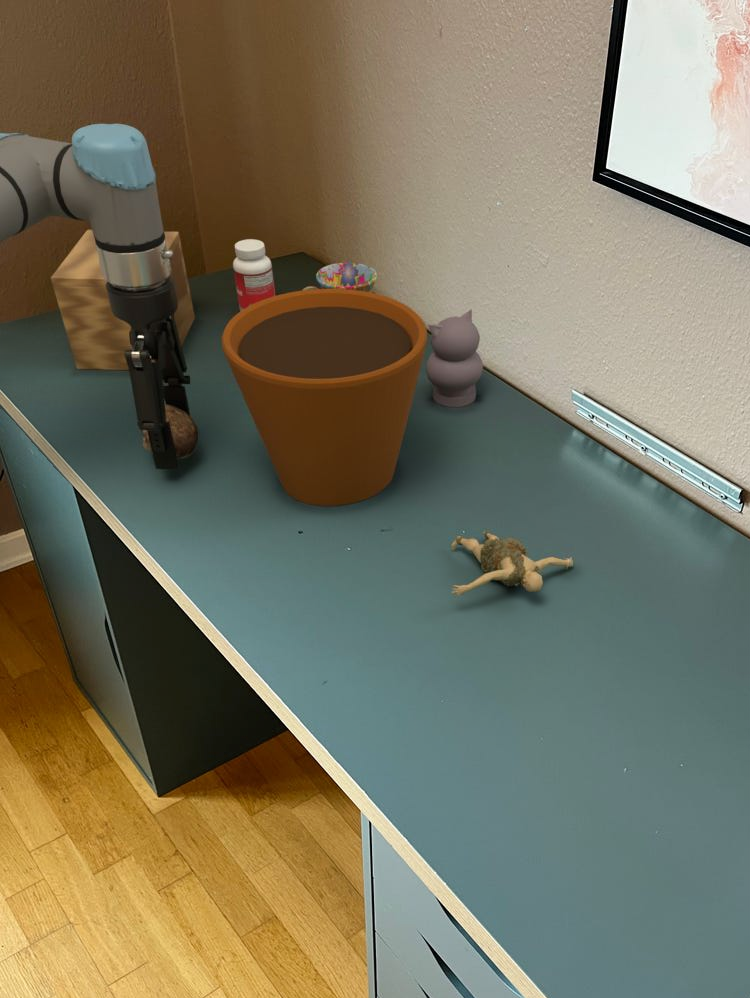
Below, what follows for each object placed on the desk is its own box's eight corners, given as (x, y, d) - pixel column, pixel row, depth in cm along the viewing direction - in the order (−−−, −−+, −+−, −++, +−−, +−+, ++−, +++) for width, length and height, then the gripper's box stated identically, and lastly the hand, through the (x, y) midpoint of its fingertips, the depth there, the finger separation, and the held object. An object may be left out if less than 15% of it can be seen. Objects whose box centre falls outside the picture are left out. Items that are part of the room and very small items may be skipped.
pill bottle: (242, 303, 161) (231, 237, 154) (278, 303, 162) (270, 237, 154) (238, 319, 157) (227, 252, 149) (275, 319, 157) (267, 252, 150)
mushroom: (114, 431, 121) (137, 396, 118) (159, 425, 128) (181, 392, 125) (154, 478, 121) (177, 444, 118) (196, 470, 128) (219, 438, 125)
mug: (372, 323, 157) (369, 259, 150) (386, 349, 151) (383, 283, 143) (300, 332, 154) (293, 267, 147) (311, 358, 148) (304, 292, 140)
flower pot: (371, 410, 137) (363, 273, 123) (463, 490, 123) (466, 345, 109) (216, 459, 127) (188, 316, 113) (298, 553, 113) (278, 402, 99)
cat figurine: (448, 416, 136) (448, 337, 128) (414, 395, 141) (413, 317, 132) (493, 398, 141) (496, 320, 132) (459, 377, 145) (460, 301, 136)
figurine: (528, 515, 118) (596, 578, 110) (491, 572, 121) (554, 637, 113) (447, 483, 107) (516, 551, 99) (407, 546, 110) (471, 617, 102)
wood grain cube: (76, 369, 143) (50, 277, 134) (109, 316, 157) (87, 229, 147) (170, 371, 144) (150, 279, 134) (195, 318, 157) (178, 231, 147)
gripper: (150, 320, 101) (187, 496, 117) (191, 243, 116) (219, 408, 132) (78, 318, 101) (125, 494, 117) (129, 241, 116) (164, 406, 132)
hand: (175, 448), depth 124 cm, fingers closed on mushroom, 8 cm apart
